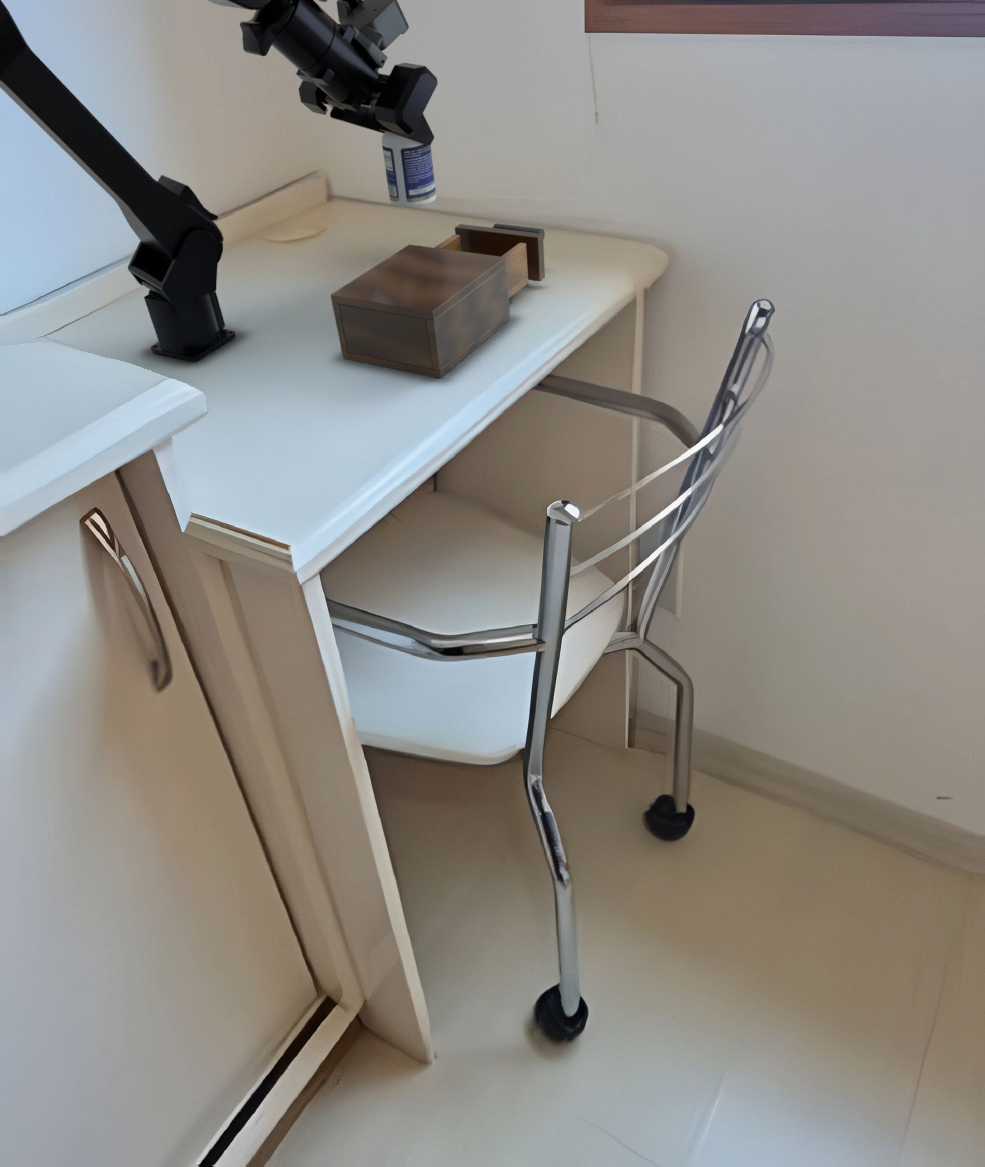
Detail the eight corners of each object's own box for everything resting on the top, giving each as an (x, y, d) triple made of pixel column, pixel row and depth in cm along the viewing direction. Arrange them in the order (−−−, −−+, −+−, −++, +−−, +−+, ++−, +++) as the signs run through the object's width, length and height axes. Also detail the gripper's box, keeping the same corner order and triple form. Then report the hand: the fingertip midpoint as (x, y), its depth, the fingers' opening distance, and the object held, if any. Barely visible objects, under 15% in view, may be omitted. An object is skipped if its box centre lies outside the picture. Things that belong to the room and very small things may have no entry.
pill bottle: (443, 194, 109) (434, 103, 102) (426, 209, 105) (416, 115, 99) (400, 193, 110) (389, 103, 104) (382, 208, 106) (369, 115, 100)
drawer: (484, 252, 109) (480, 210, 106) (563, 262, 105) (562, 219, 102) (403, 309, 98) (397, 265, 95) (488, 324, 94) (484, 278, 91)
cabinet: (417, 304, 101) (409, 244, 97) (510, 320, 96) (505, 257, 92) (342, 358, 93) (330, 294, 88) (440, 378, 88) (432, 312, 83)
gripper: (410, -30, 85) (506, 79, 97) (301, -37, 96) (399, 62, 109) (353, 83, 86) (456, 177, 99) (252, 63, 98) (355, 150, 110)
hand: (415, 137), depth 104 cm, fingers closed on pill bottle, 5 cm apart
